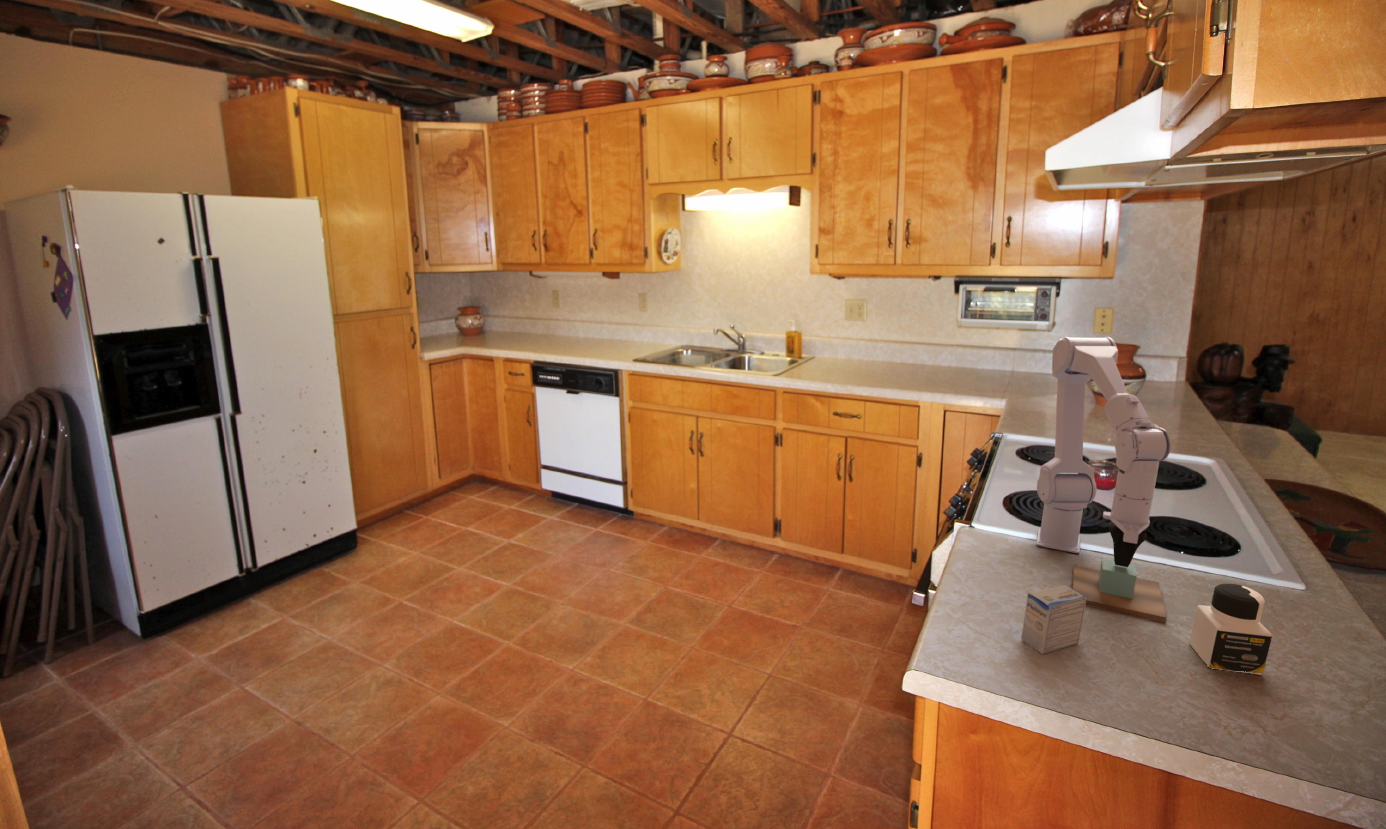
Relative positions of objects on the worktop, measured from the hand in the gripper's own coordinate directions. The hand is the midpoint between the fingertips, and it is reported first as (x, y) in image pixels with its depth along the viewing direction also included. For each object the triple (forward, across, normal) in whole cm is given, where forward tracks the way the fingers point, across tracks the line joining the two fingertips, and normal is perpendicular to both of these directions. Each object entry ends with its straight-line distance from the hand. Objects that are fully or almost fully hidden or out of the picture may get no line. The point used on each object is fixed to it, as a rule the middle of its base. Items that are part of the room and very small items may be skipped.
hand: (1121, 564), depth 125 cm
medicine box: (+6, +23, -10) cm, 26 cm away
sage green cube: (+5, 0, 0) cm, 5 cm away
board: (+6, 0, 0) cm, 6 cm away
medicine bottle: (+6, +15, +14) cm, 21 cm away
